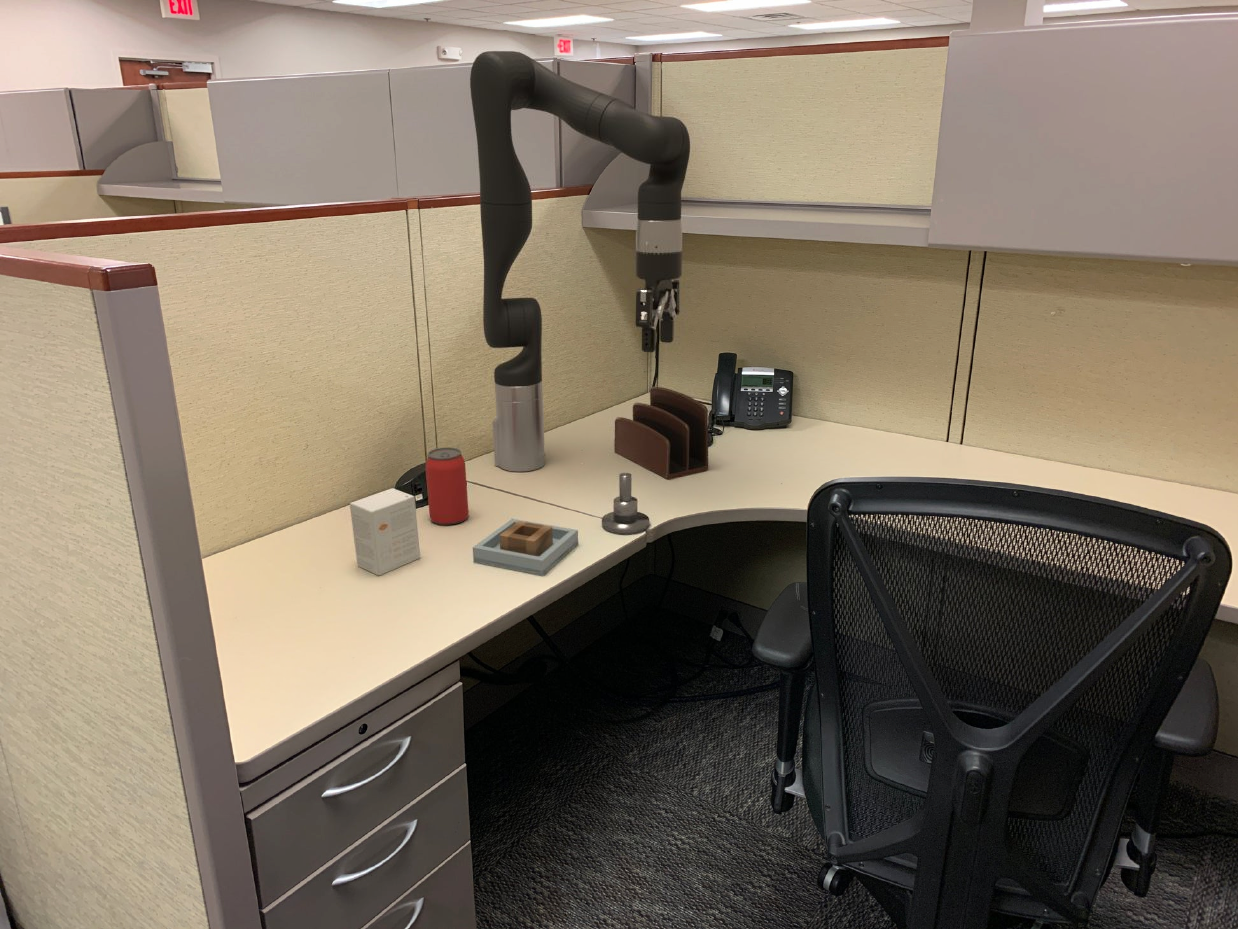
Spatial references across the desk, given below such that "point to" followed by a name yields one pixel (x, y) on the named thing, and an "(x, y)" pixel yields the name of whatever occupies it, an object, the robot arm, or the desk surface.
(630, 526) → the stepped metal shaft
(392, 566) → the small box
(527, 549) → the wooden block
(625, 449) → the letter holder
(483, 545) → the tray
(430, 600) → the desk surface
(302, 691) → the desk surface
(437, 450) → the beer can
